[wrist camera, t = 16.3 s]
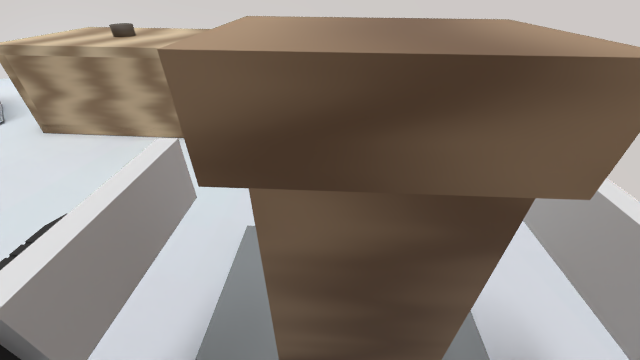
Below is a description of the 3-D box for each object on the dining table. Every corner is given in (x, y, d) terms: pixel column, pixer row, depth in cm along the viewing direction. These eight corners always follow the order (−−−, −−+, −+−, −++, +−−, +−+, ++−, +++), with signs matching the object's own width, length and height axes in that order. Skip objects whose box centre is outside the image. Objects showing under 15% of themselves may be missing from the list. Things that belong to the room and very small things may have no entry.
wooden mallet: (270, 423, 11) (156, 49, 3) (285, 324, 15) (247, 16, 7) (419, 432, 11) (693, 58, 3) (400, 331, 14) (509, 19, 6)
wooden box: (43, 132, 35) (-19, 31, 28) (117, 95, 46) (84, 17, 40) (200, 138, 34) (173, 34, 27) (236, 99, 45) (223, 19, 39)
